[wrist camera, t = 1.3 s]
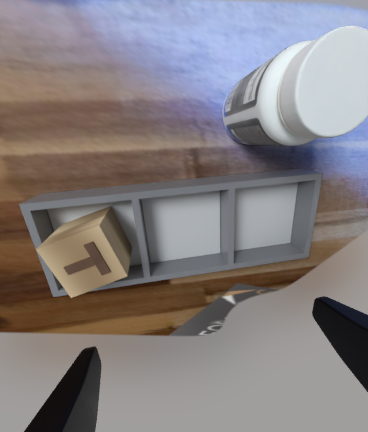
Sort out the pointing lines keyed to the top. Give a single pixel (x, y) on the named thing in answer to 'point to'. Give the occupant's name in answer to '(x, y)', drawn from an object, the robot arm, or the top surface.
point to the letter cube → (88, 252)
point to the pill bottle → (303, 92)
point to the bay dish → (192, 222)
